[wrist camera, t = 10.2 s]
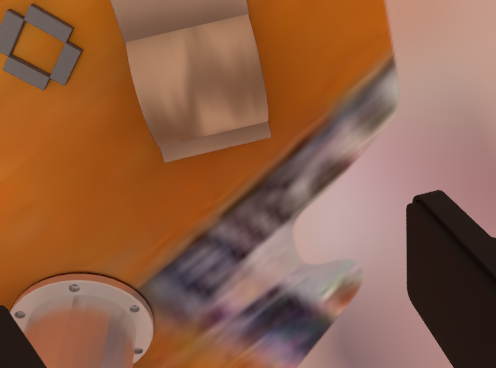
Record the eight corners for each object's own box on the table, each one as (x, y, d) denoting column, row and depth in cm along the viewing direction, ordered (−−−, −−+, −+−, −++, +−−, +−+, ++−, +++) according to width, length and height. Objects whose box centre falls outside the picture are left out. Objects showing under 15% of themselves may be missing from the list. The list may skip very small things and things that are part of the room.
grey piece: (89, 36, 28) (87, 38, 28) (60, 95, 30) (58, 98, 29) (16, -6, 26) (12, -5, 26) (-11, 59, 28) (-14, 61, 27)
